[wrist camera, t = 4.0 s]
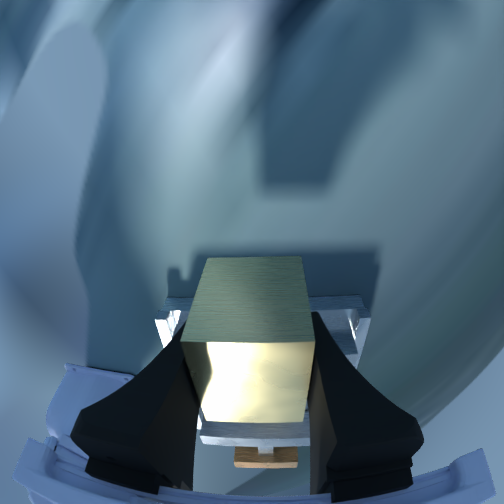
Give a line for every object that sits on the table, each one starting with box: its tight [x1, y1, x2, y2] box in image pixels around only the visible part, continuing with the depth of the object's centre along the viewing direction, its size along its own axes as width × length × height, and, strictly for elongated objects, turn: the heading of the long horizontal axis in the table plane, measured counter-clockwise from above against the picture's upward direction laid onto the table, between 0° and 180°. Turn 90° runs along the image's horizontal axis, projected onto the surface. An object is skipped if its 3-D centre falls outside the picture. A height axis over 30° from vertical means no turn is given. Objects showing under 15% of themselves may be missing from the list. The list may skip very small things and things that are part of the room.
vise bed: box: [155, 295, 371, 429], centre depth 23 cm, size 14×16×5 cm
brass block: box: [180, 256, 315, 423], centre depth 12 cm, size 4×5×5 cm
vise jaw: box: [200, 412, 310, 468], centre depth 27 cm, size 12×9×3 cm
